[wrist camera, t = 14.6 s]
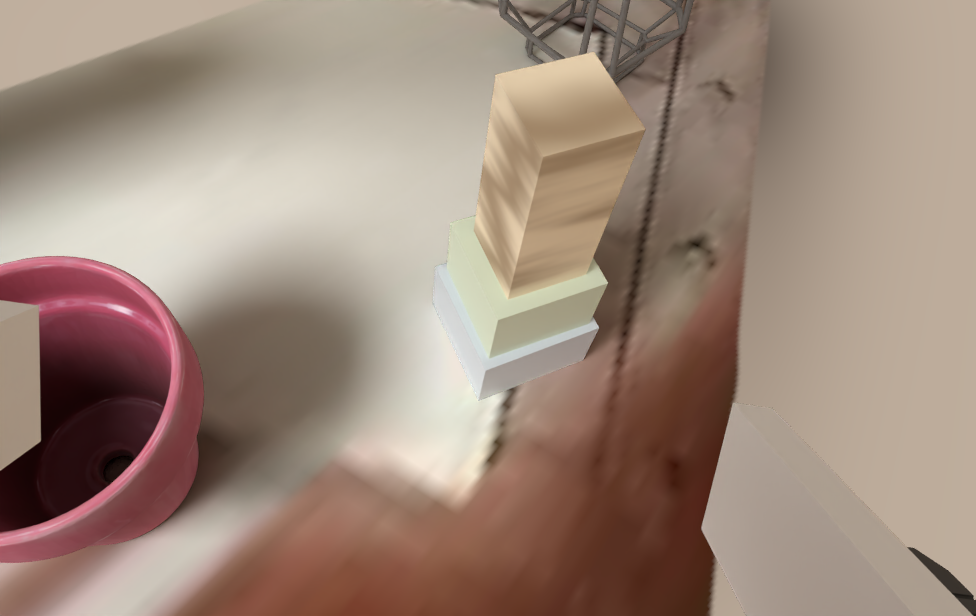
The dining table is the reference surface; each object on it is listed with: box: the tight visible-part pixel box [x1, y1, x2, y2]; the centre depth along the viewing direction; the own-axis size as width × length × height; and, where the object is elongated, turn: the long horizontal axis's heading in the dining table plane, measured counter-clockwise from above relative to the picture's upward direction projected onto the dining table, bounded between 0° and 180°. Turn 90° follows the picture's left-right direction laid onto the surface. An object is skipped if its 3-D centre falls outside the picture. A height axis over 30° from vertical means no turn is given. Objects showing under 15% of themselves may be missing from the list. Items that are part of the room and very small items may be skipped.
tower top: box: [447, 215, 608, 359], centre depth 44 cm, size 7×7×5 cm
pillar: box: [474, 52, 646, 300], centre depth 37 cm, size 5×5×12 cm
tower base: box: [433, 263, 599, 401], centre depth 49 cm, size 8×8×5 cm
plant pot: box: [0, 256, 204, 563], centre depth 38 cm, size 14×14×13 cm
